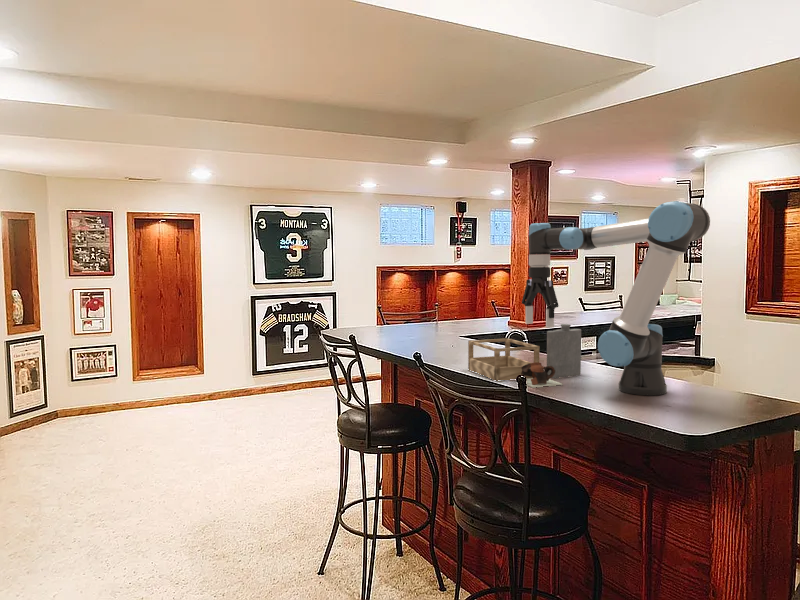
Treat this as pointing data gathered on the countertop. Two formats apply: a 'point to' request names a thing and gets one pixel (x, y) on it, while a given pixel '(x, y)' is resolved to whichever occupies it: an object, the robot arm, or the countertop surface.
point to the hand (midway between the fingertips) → (539, 325)
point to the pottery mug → (538, 372)
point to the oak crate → (499, 360)
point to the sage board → (549, 383)
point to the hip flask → (564, 351)
